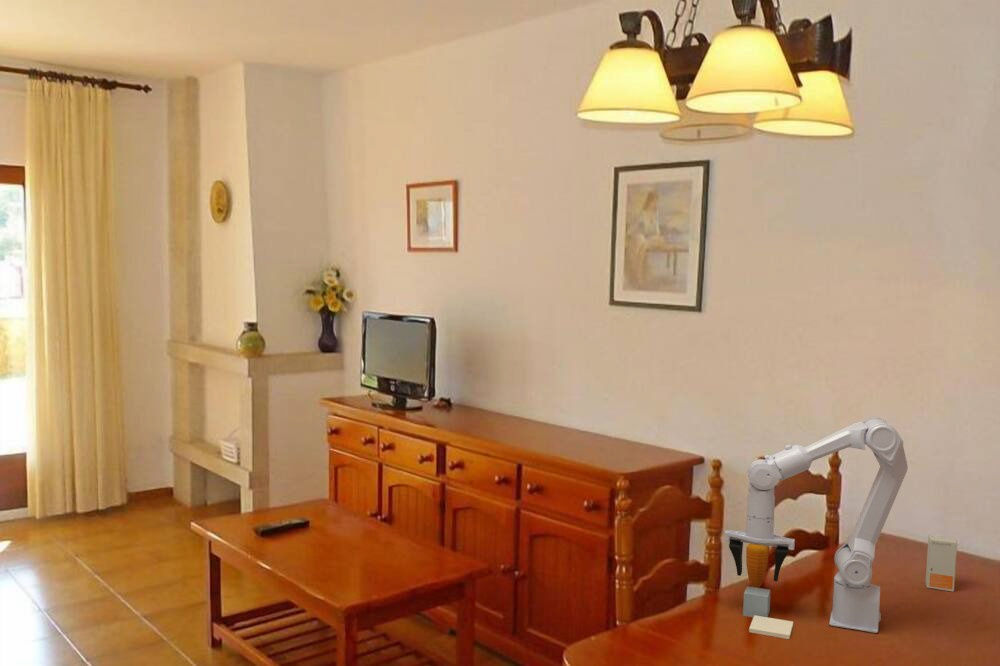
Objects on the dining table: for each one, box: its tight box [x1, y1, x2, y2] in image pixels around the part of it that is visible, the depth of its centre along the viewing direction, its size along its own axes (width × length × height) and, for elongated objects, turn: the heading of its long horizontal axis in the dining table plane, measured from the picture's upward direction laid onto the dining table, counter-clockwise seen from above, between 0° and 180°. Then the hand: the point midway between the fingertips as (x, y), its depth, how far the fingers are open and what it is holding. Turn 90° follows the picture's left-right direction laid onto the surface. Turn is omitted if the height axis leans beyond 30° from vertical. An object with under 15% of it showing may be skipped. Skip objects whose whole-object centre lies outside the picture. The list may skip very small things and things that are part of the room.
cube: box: [742, 585, 771, 618], centre depth 194 cm, size 5×5×5 cm
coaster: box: [748, 615, 794, 640], centre depth 185 cm, size 8×8×1 cm
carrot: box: [745, 543, 769, 588], centre depth 208 cm, size 5×5×15 cm
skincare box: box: [925, 535, 958, 593], centre depth 213 cm, size 6×4×12 cm
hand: (757, 577), depth 193 cm, fingers open, 7 cm apart
